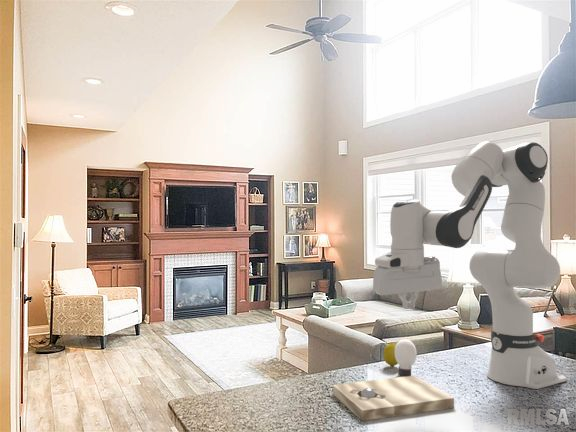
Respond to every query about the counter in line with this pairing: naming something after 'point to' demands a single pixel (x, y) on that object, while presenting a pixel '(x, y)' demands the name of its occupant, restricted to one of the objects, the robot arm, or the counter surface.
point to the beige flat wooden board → (392, 397)
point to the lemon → (390, 354)
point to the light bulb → (405, 356)
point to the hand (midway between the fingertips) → (408, 308)
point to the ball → (368, 393)
